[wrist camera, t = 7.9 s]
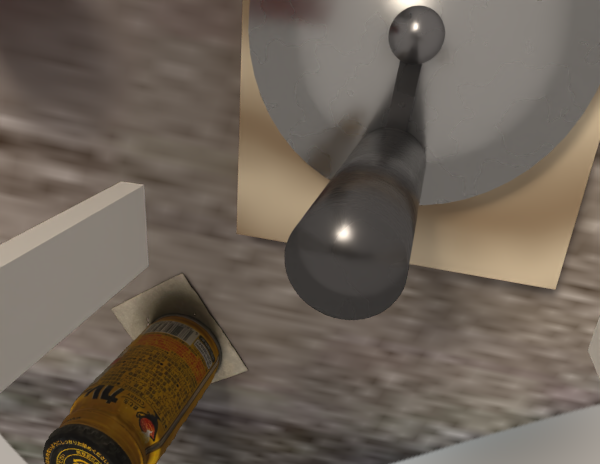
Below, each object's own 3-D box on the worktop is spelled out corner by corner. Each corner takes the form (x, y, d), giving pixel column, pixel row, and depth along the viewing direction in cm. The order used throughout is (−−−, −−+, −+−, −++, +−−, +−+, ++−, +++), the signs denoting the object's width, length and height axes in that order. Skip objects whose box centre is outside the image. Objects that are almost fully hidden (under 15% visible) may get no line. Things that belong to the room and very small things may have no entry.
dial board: (264, -263, 24) (247, -289, 22) (707, -279, 20) (736, -312, 18) (248, 222, 34) (234, 235, 31) (549, 273, 30) (556, 292, 28)
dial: (280, -190, 23) (92, -419, 11) (676, -151, 20) (1012, -406, 8) (243, 160, 30) (99, 258, 17) (539, 227, 27) (611, 399, 15)
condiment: (175, 396, 41) (76, 531, 30) (112, 307, 39) (-16, 416, 28) (249, 368, 38) (168, 506, 27) (184, 270, 36) (71, 376, 26)
